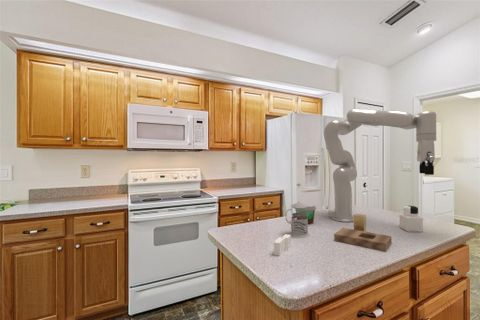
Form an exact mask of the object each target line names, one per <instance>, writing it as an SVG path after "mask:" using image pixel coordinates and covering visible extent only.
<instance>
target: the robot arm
mask: <svg viewBox="0 0 480 320" xmlns="http://www.w3.org/2000/svg"><path fill="white" fill-rule="evenodd" d="M362 125H363V126H364V125H365V126H372V127H379V126H381V127H382V126H383V127H392V128H398V129H403V130H414V129H416V134H415V135H416V136H415V137H416V139H415V142H417V150H416V152H417V153H416V155H417V156H416V160H417V162H419V165H418V167H419V168H418V170H419V174H424V175H426V176H427V175H428V176H433V175H435V164H434V161H435V157H436V156H435V155H436V151H435V150H436V149H435V142H436V141H437V113H436V112H435V111H433V110H431V111H430V110H429V111H421V112H418V113H417V114H412V113H409V112H404V111H396V110H395V111H391V110H381V109H380V110H377V109H365V108H351V109H349V110H348V112H347V114H346V119H345V120H338V119H334V120H331V121H329V122H328V123H327V124H325V127H324V131H323V138H324V141H325V145H326V148H327V151H328V156H329V159H330V162H331V164H332V165H334V166H339V167H337V168H336V169H334V171H333V172H332V179H333V180H332V181H333V185H334V187H333V189H334V210H333V211H332V210H328V212H327V213H328V215H332V217H331V218H332V220H334V221H337V222H341V223H342V222H343V223H352V222H353V223H354V216H353V196H352V195H353V192H352V191H353V190H352V183H351V182H353V181H355V180H356V179H357V176H358V171H357V167H356V164H355V160H354V158H353V155H352V154H351V152H349V150H345V149H344V148H343V145H342V141H341V139H340V137H339V136H345V135H349V133H352V132H353V131H354V130H356V129H358V128H360V127H361V126H362Z"/></svg>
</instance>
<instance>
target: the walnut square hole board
mask: <svg viewBox="0 0 480 320" xmlns="http://www.w3.org/2000/svg"><path fill="white" fill-rule="evenodd" d="M333 236H334V237H333V238H334V239H333V240H334V242H339V243H344V244H349V245H353V246H357V247H363V248H366V249H367V248H368V249H372V250H378V251H382V252H387V251H388V249H389V248H390V246H391V245H392V244H393V243H392V239H393V237H392V236H391V235H387V234H381V233H375V232H369V231H366V232H364V231H359V230H354V228H353V229H351V228H348V227H347V228H346V227H342V228H340V229H339V230H338V231H336V232H335V233H333Z"/></svg>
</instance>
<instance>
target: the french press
mask: <svg viewBox="0 0 480 320" xmlns="http://www.w3.org/2000/svg"><path fill="white" fill-rule="evenodd" d="M296 186H297V187H301V186H302V185H301V183H298V182H297V184H296ZM290 207H291V208H289V209H287V210H286V212H285V214H284V215H285V220H286V222H287V224H289V225H291V226H290V229H291V230H290V232H289V235H291V237H293V238H294V237H295V238H308V237H310V236H311V234H310V233H309V231H308V230H309V228H308V227H309V224H308V218H307V217H305V216H307V215H306V214H304V213H300V212H299V213H296V212H293V213H292V209H294V208H296V209H306V208H307V207H308V205H307V204H305V203H301V202H296V203H293V204H292V205H291V206H290ZM296 209H295V210H296ZM289 211H290V212H291V213H292V214H291V218H290V219H291V222H290V221H288V219H287V213H288V212H289ZM297 218H300V219H302V220H299V219H297ZM302 223H303V224H302Z"/></svg>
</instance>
